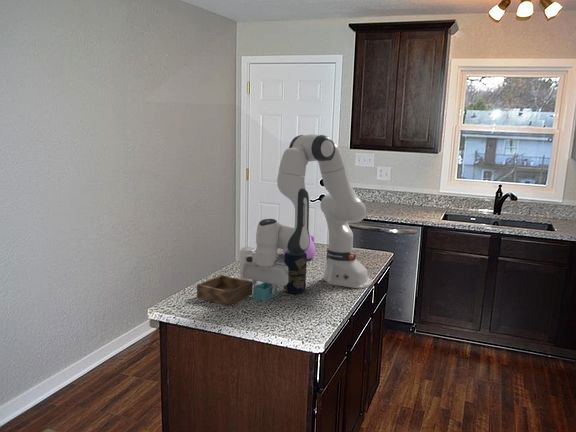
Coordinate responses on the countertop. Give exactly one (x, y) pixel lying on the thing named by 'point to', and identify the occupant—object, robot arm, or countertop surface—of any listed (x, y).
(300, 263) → the canister
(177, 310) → the countertop surface
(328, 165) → the robot arm
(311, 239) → the teapot
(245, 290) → the walnut crate
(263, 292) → the teal crate
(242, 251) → the white cup
